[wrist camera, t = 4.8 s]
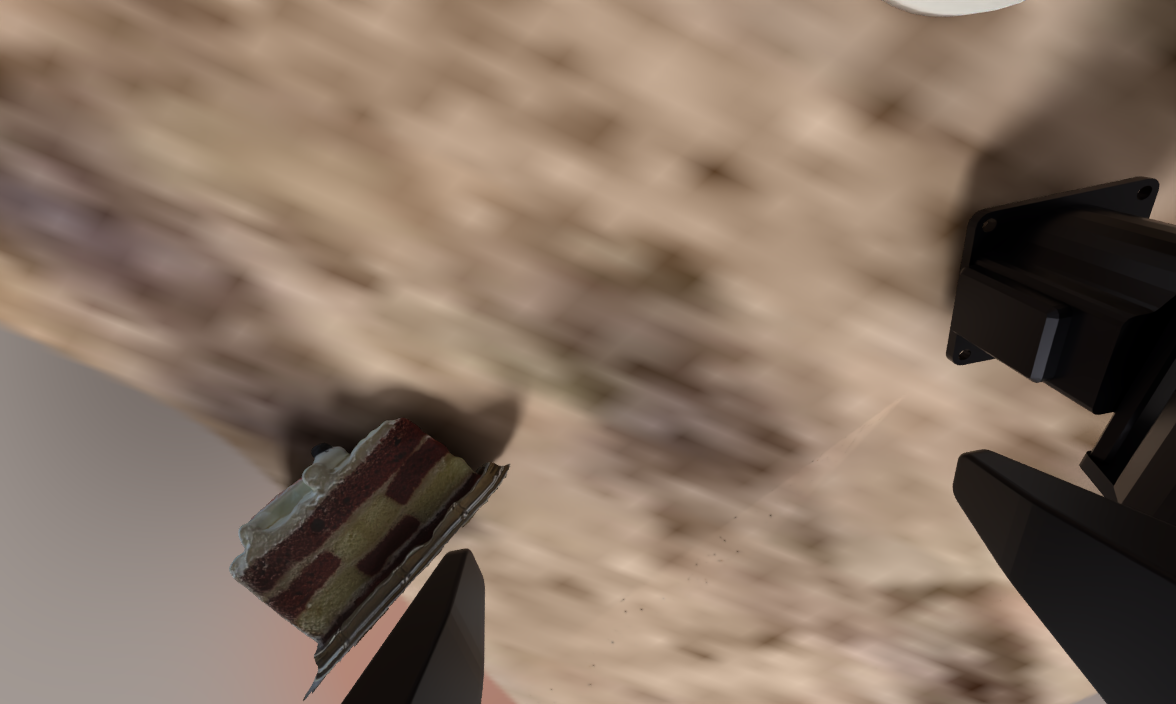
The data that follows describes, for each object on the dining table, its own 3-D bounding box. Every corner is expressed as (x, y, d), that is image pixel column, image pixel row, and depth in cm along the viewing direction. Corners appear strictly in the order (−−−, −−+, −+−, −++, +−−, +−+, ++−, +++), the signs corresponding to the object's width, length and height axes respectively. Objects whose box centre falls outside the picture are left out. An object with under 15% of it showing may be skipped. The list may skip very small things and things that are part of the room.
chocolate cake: (396, 353, 21) (113, 615, 16) (521, 465, 22) (289, 748, 17) (392, 390, 30) (206, 568, 25) (482, 469, 30) (320, 657, 25)
